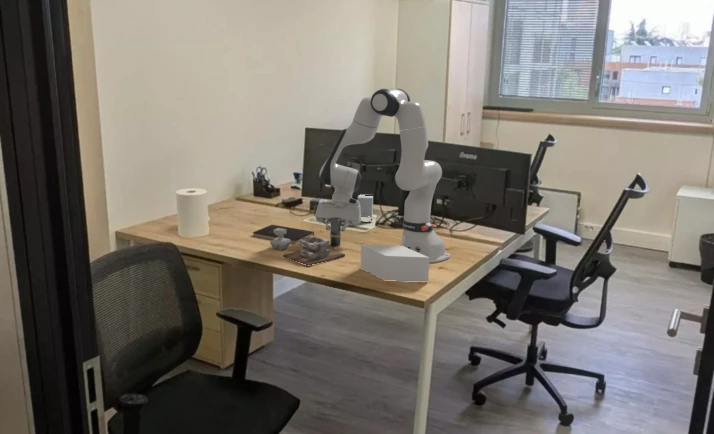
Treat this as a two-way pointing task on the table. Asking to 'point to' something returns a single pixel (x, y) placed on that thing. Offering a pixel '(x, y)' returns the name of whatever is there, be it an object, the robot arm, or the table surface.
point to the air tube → (335, 231)
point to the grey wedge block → (394, 263)
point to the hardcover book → (290, 234)
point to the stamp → (280, 239)
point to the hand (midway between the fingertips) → (335, 230)
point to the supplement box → (366, 205)
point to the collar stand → (313, 251)
